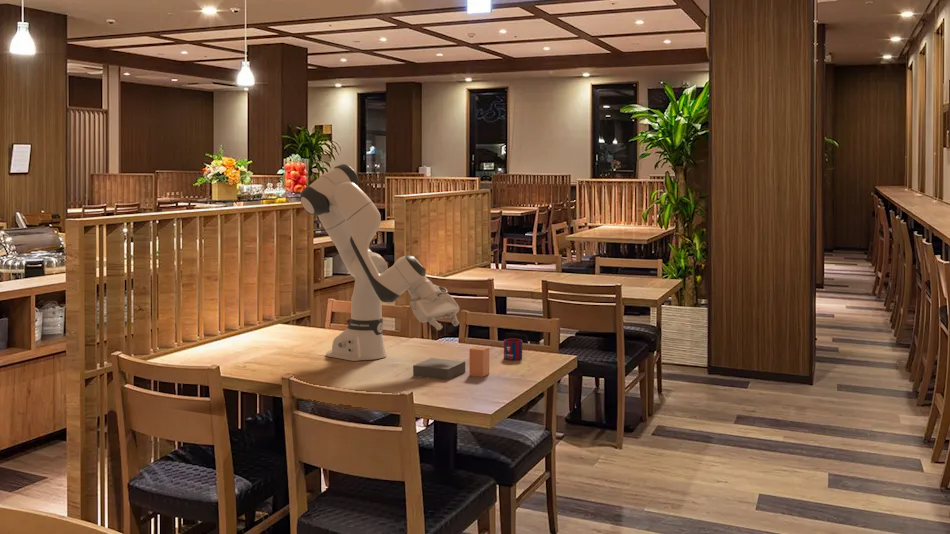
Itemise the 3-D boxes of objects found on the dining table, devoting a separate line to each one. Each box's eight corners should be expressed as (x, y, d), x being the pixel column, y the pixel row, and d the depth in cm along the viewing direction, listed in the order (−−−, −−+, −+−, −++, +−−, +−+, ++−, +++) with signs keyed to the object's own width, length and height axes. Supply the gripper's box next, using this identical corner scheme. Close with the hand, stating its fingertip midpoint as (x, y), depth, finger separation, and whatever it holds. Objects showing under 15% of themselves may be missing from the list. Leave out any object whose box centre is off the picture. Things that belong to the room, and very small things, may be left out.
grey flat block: (413, 377, 289) (413, 365, 289) (431, 369, 301) (431, 358, 301) (447, 381, 284) (447, 369, 283) (465, 373, 296) (465, 361, 295)
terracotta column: (469, 375, 290) (469, 348, 289) (475, 372, 295) (475, 346, 294) (483, 376, 288) (483, 350, 287) (489, 373, 293) (489, 347, 292)
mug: (500, 359, 316) (500, 340, 315) (514, 354, 324) (514, 336, 324) (516, 361, 312) (516, 342, 312) (530, 356, 321) (530, 338, 320)
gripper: (412, 293, 291) (435, 325, 287) (448, 287, 308) (471, 317, 303) (402, 305, 294) (424, 337, 290) (438, 298, 311) (460, 328, 306)
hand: (448, 326), depth 296 cm, fingers open, 8 cm apart
